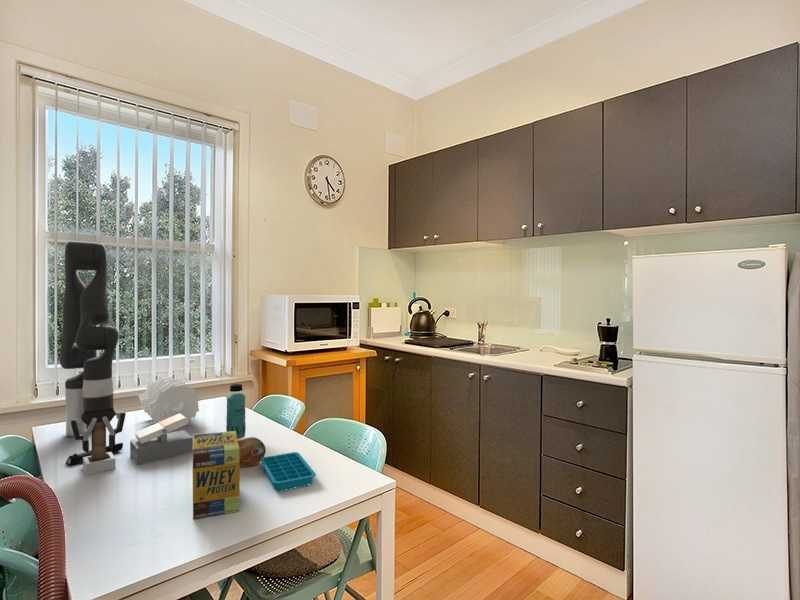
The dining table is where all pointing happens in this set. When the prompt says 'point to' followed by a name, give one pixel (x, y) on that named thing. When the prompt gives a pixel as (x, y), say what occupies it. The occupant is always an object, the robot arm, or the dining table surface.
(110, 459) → the holder
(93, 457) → the wooden peg
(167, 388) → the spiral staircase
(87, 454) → the electric trimmer
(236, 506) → the protein box
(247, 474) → the dining table surface
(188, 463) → the dining table surface
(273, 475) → the ice cube tray
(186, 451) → the switch box
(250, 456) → the tin
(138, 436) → the rocker switch
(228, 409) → the beverage bottle
